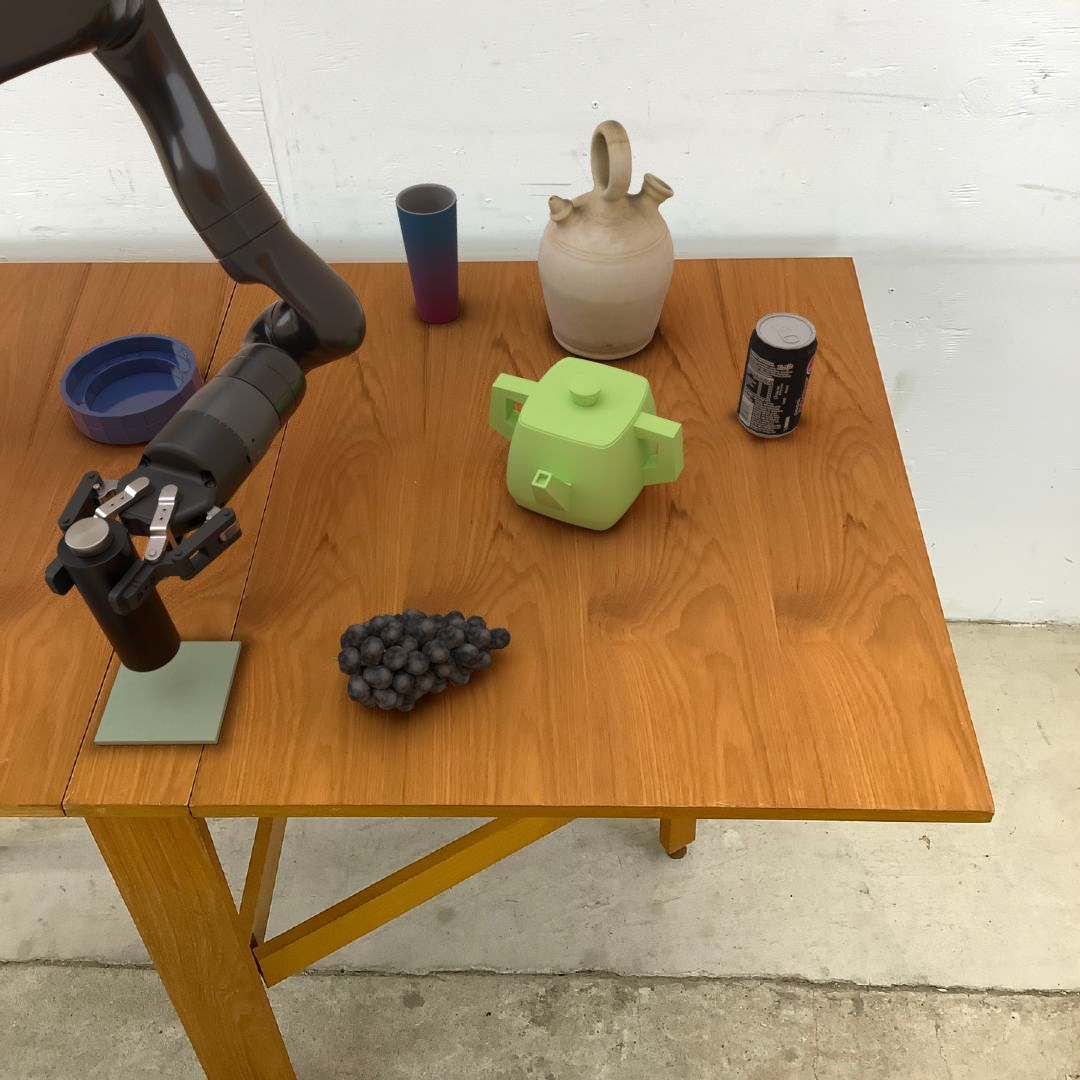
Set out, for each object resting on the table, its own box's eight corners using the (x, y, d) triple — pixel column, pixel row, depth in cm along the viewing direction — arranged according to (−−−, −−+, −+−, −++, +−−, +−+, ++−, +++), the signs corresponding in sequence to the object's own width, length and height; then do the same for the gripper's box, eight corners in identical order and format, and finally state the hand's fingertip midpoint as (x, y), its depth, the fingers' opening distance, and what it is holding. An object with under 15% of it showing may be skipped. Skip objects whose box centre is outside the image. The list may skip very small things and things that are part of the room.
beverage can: (783, 397, 108) (803, 305, 100) (808, 436, 104) (831, 343, 95) (726, 407, 108) (741, 315, 99) (750, 447, 103) (767, 355, 94)
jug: (662, 291, 122) (681, 89, 104) (671, 369, 112) (693, 160, 93) (540, 291, 123) (536, 90, 104) (537, 369, 112) (533, 161, 94)
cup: (447, 289, 124) (435, 177, 112) (477, 314, 120) (468, 201, 109) (400, 308, 121) (383, 195, 110) (429, 335, 117) (415, 221, 106)
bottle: (107, 663, 78) (36, 548, 68) (143, 617, 81) (80, 500, 71) (158, 679, 77) (93, 565, 67) (192, 633, 80) (135, 516, 70)
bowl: (57, 449, 105) (40, 417, 101) (97, 366, 114) (83, 334, 111) (189, 447, 105) (177, 415, 101) (219, 364, 114) (208, 332, 111)
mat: (96, 745, 81) (93, 741, 80) (130, 645, 87) (127, 641, 87) (217, 744, 80) (215, 740, 80) (242, 644, 87) (240, 640, 87)
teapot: (634, 592, 90) (643, 493, 81) (444, 528, 96) (430, 427, 86) (699, 466, 101) (713, 365, 92) (524, 414, 107) (521, 314, 98)
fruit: (501, 568, 81) (318, 612, 77) (530, 661, 78) (341, 711, 74) (495, 605, 88) (328, 646, 85) (520, 691, 85) (349, 737, 82)
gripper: (125, 390, 80) (-20, 538, 69) (280, 428, 76) (151, 590, 66) (155, 457, 85) (24, 604, 75) (300, 495, 82) (184, 655, 71)
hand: (84, 596), depth 70 cm, fingers closed on bottle, 5 cm apart
